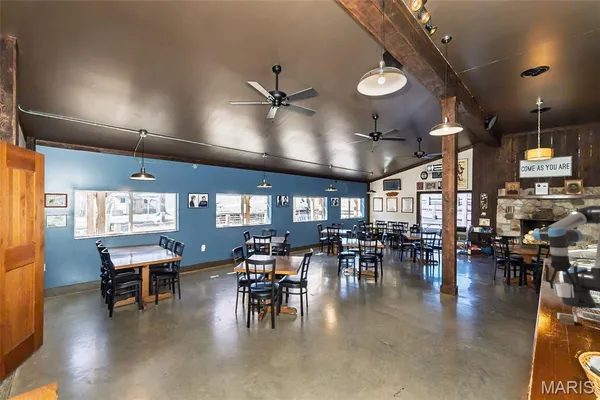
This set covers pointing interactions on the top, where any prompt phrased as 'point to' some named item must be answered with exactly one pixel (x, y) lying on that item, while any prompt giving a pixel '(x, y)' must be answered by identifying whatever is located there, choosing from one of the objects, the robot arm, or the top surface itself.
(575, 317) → the board
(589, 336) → the top surface
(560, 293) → the white cup
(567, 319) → the housing
